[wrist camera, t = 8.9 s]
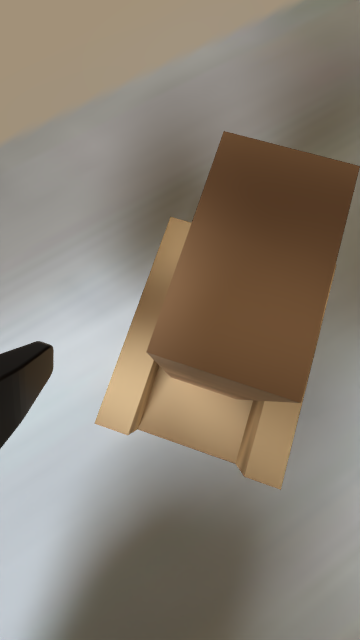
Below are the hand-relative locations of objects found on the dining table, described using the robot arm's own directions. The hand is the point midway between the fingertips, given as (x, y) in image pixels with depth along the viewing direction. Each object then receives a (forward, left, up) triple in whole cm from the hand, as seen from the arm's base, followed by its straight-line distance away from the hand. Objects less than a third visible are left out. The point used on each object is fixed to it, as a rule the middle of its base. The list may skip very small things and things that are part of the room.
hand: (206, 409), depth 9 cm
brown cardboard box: (+3, -3, -8) cm, 9 cm away
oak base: (+2, -2, -9) cm, 9 cm away
